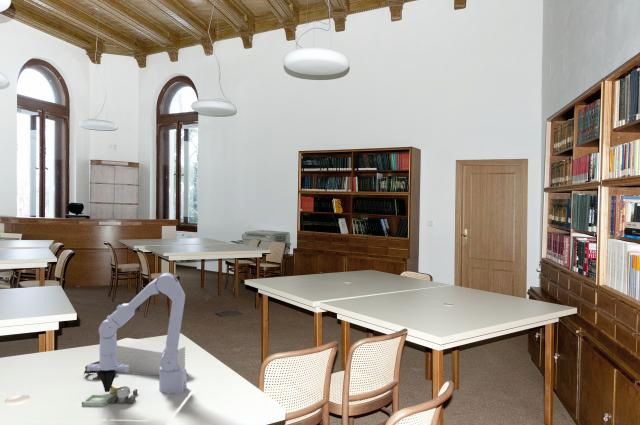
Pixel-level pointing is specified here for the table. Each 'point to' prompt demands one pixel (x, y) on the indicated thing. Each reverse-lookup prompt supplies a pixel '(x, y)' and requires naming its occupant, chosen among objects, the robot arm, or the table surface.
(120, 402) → the shiny metal cylinder
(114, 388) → the tan rectangular block
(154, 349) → the long grey box
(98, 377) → the brown piece
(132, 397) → the board
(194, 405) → the table surface
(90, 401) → the tray
